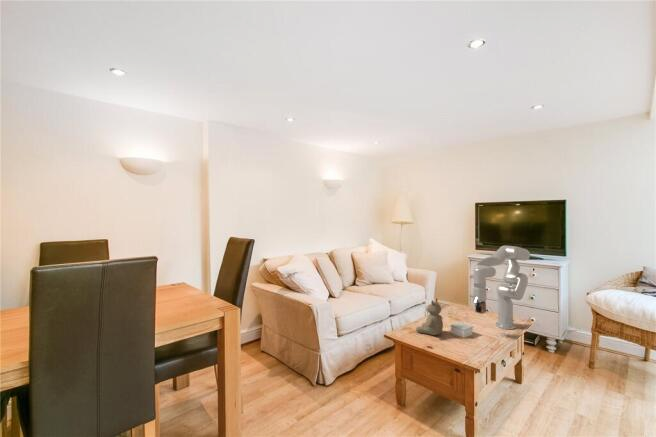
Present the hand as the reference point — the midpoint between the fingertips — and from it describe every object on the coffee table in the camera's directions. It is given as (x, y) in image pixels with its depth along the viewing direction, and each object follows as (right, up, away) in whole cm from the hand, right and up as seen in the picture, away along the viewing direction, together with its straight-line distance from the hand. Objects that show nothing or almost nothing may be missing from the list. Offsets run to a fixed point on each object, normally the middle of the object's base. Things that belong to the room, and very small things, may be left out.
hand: (480, 310), depth 209 cm
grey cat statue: (-34, -18, +5) cm, 39 cm away
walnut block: (0, -1, 0) cm, 1 cm away
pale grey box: (-12, -18, +3) cm, 21 cm away
